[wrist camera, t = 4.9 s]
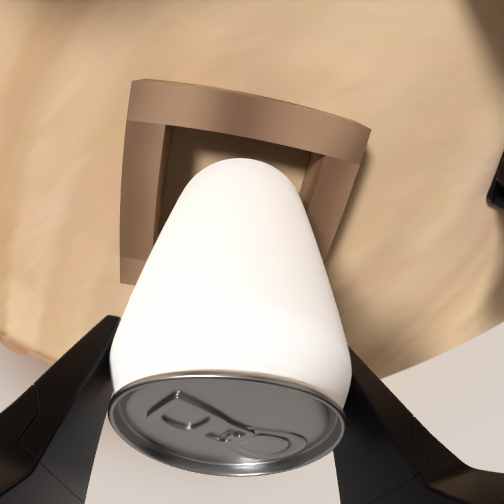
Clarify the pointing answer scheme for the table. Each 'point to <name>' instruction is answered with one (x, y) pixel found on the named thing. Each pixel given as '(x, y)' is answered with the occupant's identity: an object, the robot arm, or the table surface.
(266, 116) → the wooden square frame
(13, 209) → the table surface
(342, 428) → the can
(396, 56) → the table surface
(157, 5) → the table surface
